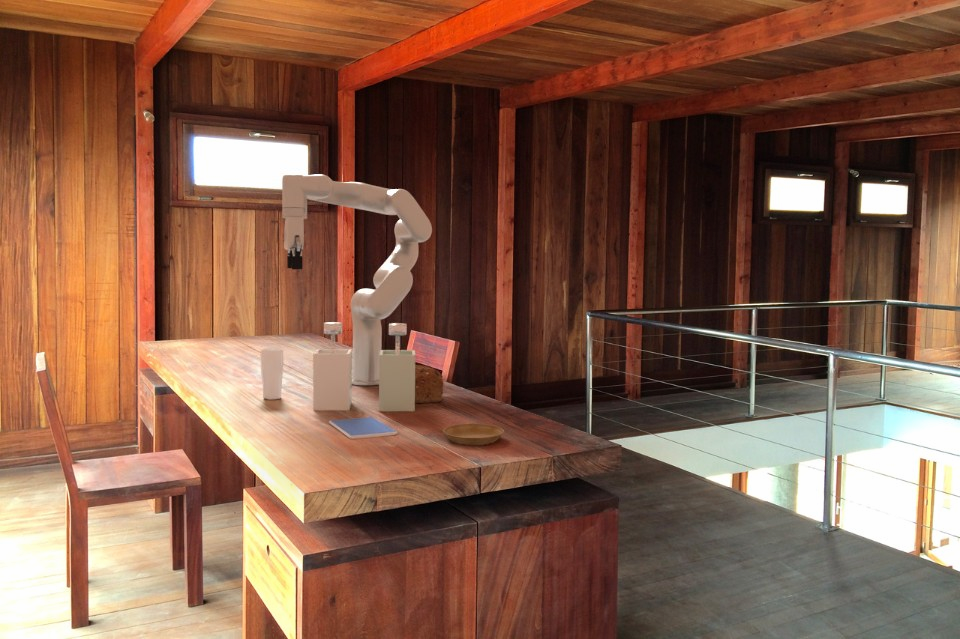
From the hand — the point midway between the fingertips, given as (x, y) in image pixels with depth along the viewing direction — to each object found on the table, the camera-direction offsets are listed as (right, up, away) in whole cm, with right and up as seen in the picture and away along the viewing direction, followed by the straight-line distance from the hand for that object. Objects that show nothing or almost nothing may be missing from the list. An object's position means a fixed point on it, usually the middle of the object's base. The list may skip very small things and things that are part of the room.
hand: (294, 268), depth 254 cm
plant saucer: (+57, -46, -57) cm, 92 cm away
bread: (+39, -40, -6) cm, 56 cm away
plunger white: (+16, -38, -22) cm, 46 cm away
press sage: (+34, -41, -21) cm, 58 cm away
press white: (+16, -41, -22) cm, 49 cm away
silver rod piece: (+35, -38, -22) cm, 56 cm away
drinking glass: (-4, -40, -11) cm, 42 cm away
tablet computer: (+28, -45, -47) cm, 71 cm away
